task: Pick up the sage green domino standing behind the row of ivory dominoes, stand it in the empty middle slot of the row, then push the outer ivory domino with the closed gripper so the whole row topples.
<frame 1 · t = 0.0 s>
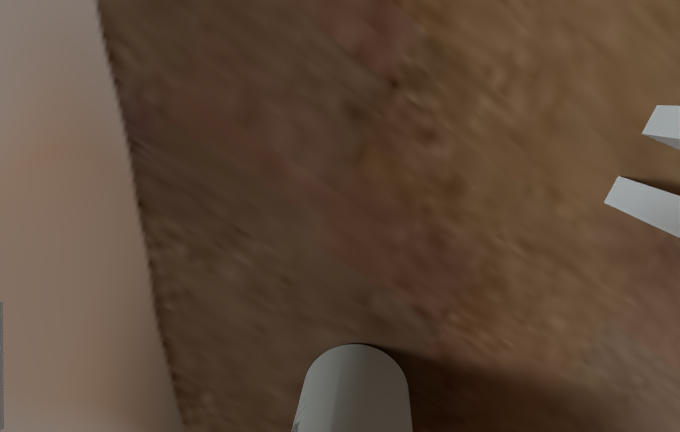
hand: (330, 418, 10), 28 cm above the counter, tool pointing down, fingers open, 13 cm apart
ivory domino 1: (644, 203, 37), on the counter
travel mug: (355, 388, 41), on the counter
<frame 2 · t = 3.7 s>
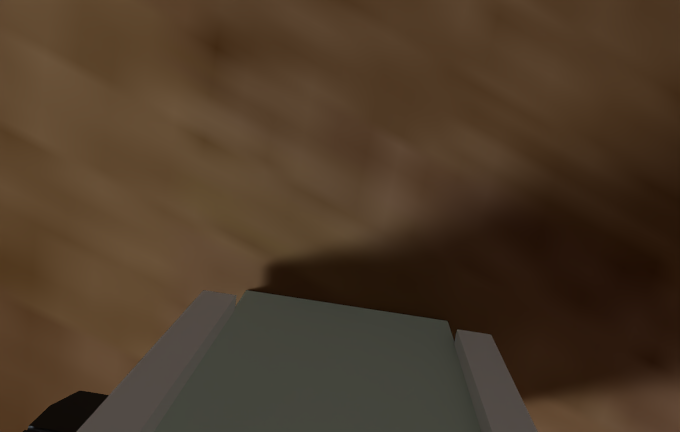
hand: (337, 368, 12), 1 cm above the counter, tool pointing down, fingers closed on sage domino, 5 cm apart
sage domino: (340, 342, 13), on the counter, touching gripper
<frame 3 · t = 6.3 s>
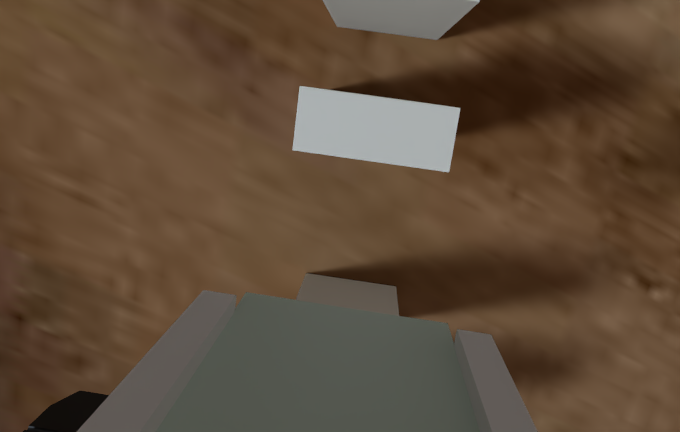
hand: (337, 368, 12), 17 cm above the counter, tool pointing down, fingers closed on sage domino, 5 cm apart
ivory domino 4: (375, 116, 27), on the counter
sage domino: (340, 344, 13), point 16 cm above the counter, touching gripper
ivory domino 5: (390, 11, 26), on the counter
ivory domino 2: (348, 296, 30), on the counter
when the fingers open (2 cm above the counter, at t = 9.3 s): sage domino drops 1 cm, on the counter.
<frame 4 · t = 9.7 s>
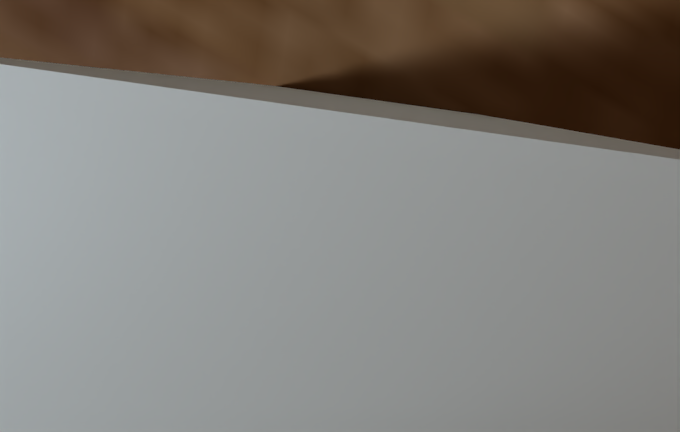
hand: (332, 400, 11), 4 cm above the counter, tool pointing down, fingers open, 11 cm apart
ivory domino 4: (371, 141, 13), on the counter
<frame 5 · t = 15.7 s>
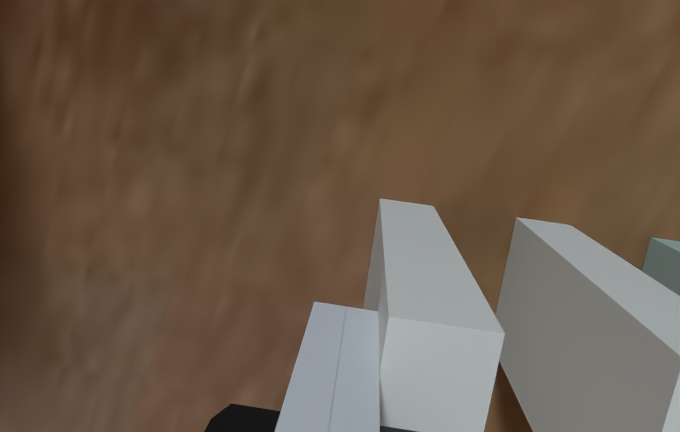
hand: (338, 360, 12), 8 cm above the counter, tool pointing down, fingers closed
ivory domino 1: (396, 265, 20), on the counter, touching gripper
sage domino: (660, 304, 20), on the counter
ivory domino 2: (529, 284, 20), on the counter
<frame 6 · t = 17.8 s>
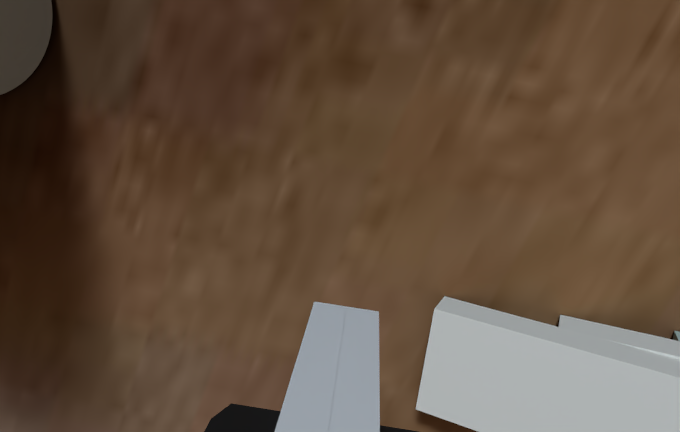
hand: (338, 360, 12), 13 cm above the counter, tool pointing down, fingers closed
ivory domino 1: (430, 351, 25), point 1 cm above the counter, tilted 68°
ivory domino 2: (550, 371, 25), point 1 cm above the counter, tilted 68°, touching sage domino
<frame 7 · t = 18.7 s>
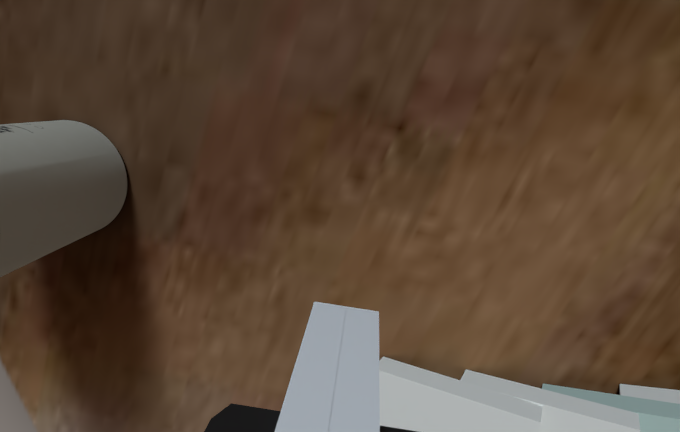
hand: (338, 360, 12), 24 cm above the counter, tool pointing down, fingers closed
ivory domino 4: (620, 423, 38), point 1 cm above the counter, tilted 69°, touching ivory domino 5, sage domino
ivory domino 1: (374, 393, 38), point 1 cm above the counter, tilted 70°, touching ivory domino 2
sage domino: (541, 422, 38), point 1 cm above the counter, tilted 68°, touching ivory domino 2, ivory domino 4
travel mug: (75, 177, 38), on the counter
ivory domino 2: (459, 407, 38), point 1 cm above the counter, tilted 68°, touching ivory domino 1, sage domino
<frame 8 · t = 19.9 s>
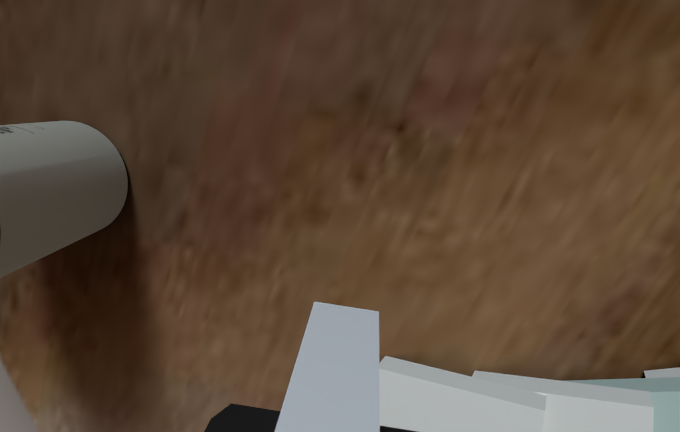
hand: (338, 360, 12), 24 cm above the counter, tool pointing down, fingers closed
ivory domino 4: (654, 411, 37), point 1 cm above the counter, tilted 72°
ivory domino 1: (378, 393, 38), point 1 cm above the counter, tilted 70°, touching ivory domino 2
sage domino: (568, 420, 38), point 1 cm above the counter, tilted 69°, touching ivory domino 2
travel mug: (76, 177, 38), on the counter
ivory domino 2: (473, 409, 38), point 1 cm above the counter, tilted 69°, touching ivory domino 1, sage domino
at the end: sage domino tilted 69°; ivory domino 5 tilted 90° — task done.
